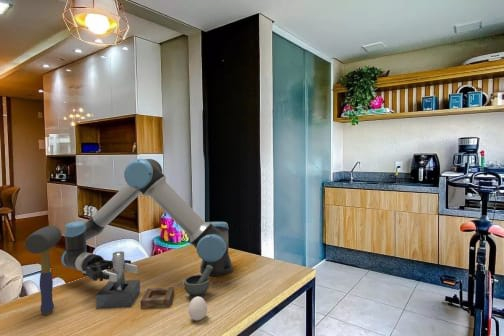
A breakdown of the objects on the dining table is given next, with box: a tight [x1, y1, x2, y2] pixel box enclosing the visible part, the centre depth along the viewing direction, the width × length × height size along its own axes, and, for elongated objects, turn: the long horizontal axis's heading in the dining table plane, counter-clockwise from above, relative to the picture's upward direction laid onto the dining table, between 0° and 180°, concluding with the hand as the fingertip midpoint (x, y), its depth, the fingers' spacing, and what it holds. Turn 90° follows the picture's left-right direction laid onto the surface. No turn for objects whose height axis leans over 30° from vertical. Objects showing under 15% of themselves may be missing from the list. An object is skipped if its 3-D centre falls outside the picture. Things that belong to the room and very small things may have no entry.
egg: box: [188, 296, 208, 321], centre depth 99 cm, size 6×6×8 cm
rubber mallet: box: [24, 225, 63, 315], centre depth 103 cm, size 12×8×30 cm, turn 13°
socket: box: [95, 279, 141, 310], centre depth 113 cm, size 12×12×5 cm
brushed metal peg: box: [112, 250, 126, 290], centre depth 113 cm, size 4×4×16 cm
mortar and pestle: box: [183, 265, 213, 302], centre depth 115 cm, size 11×9×12 cm
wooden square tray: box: [140, 286, 175, 310], centre depth 111 cm, size 10×10×3 cm
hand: (126, 273), depth 110 cm, fingers open, 8 cm apart
